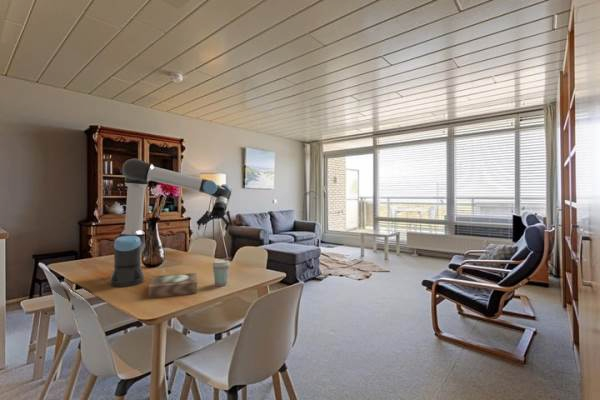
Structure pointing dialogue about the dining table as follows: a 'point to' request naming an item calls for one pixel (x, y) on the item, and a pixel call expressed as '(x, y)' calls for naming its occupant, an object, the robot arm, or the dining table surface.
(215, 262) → the coffee cup
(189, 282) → the walnut plinth
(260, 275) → the dining table surface
